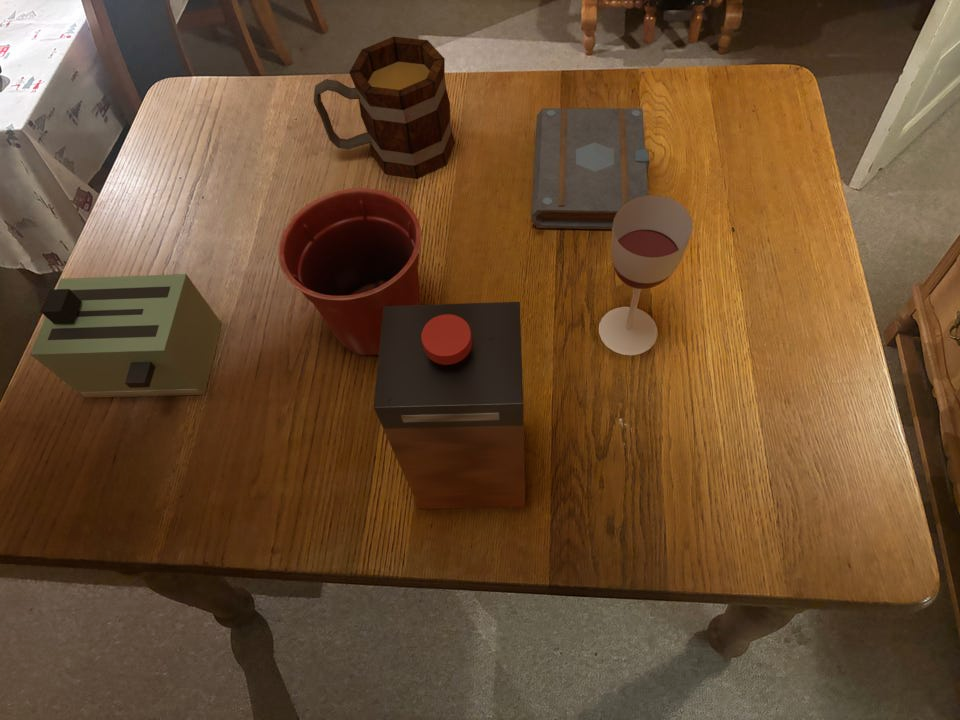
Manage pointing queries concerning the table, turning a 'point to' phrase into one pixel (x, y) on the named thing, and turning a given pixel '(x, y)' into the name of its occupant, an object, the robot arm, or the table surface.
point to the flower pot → (354, 261)
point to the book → (587, 166)
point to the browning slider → (61, 306)
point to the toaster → (132, 337)
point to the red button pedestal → (455, 407)
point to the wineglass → (643, 265)
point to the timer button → (446, 339)
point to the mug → (398, 106)
